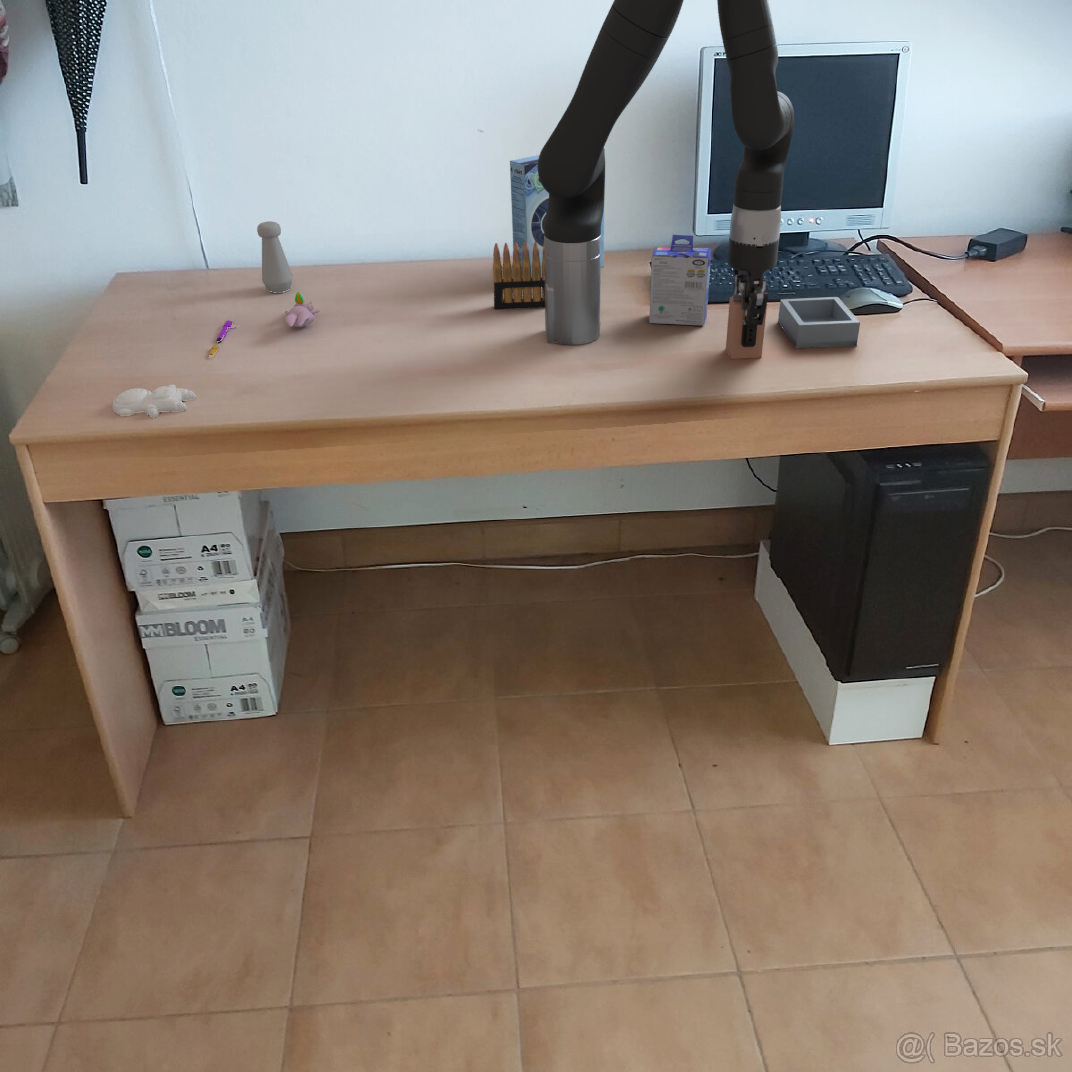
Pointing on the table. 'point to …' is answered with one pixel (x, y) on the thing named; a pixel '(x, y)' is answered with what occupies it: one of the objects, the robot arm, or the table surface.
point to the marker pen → (223, 331)
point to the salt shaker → (273, 259)
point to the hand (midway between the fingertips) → (744, 340)
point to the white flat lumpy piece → (152, 400)
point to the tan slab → (735, 332)
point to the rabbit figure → (300, 313)
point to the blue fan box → (531, 207)
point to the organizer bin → (818, 322)
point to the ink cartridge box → (679, 283)
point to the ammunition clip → (518, 279)
